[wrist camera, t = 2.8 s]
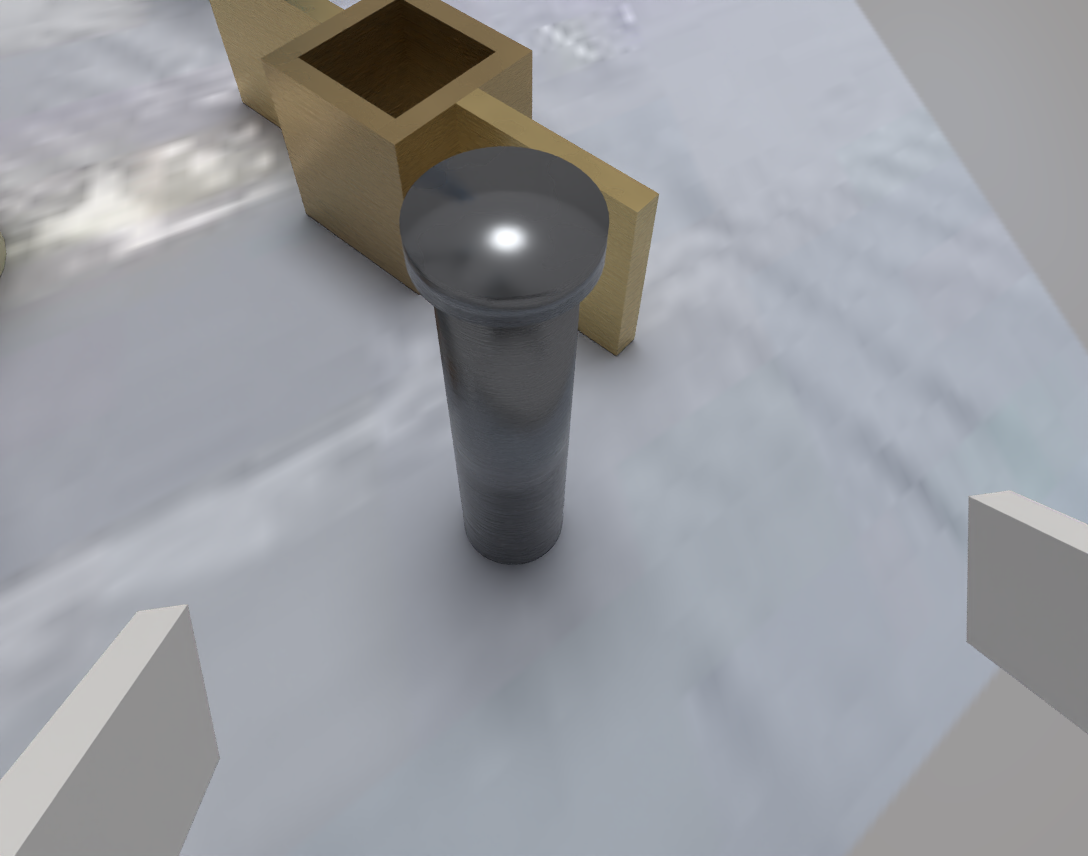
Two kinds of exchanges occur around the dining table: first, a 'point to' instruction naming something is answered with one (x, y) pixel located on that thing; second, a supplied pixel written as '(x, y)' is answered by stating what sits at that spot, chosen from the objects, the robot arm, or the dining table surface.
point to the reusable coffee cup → (2, 253)
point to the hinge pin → (507, 327)
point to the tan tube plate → (413, 124)
